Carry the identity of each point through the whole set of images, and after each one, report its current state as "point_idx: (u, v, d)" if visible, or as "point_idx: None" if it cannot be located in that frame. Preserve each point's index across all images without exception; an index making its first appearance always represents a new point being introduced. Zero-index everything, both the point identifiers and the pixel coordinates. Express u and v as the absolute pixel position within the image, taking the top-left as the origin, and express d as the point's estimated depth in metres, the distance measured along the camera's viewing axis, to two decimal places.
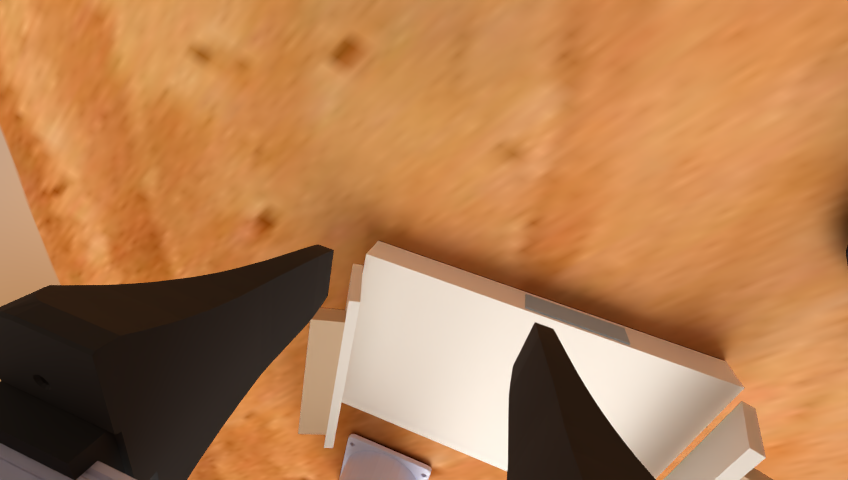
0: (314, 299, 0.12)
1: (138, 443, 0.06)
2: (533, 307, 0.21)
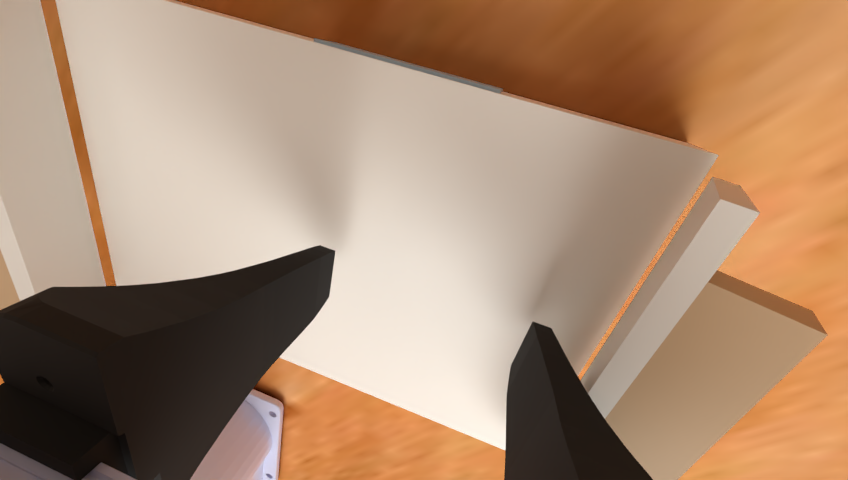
0: (316, 300, 0.12)
1: (141, 444, 0.06)
2: (330, 42, 0.11)
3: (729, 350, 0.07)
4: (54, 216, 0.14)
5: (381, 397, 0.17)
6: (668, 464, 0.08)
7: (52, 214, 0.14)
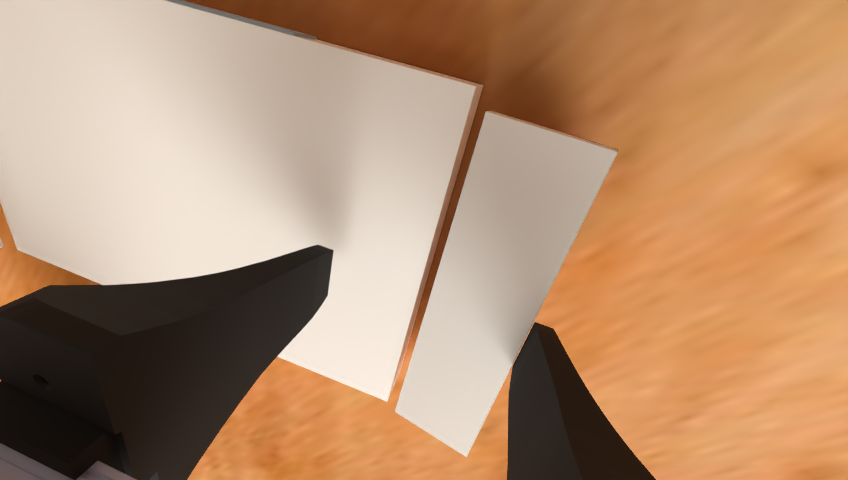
0: (314, 299, 0.12)
1: (138, 443, 0.06)
2: None
3: None
4: None
5: None
6: None
7: None
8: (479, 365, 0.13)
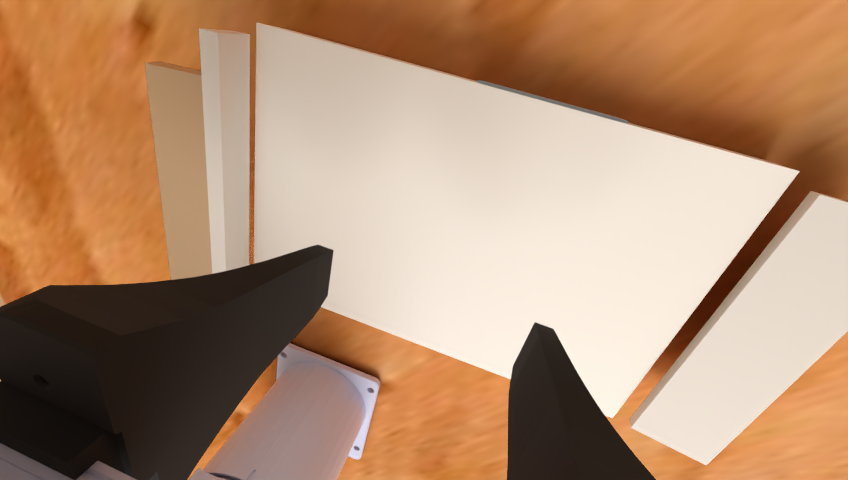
0: (314, 299, 0.12)
1: (138, 443, 0.06)
2: (489, 82, 0.14)
3: None
4: (238, 218, 0.17)
5: (488, 368, 0.20)
6: None
7: (237, 216, 0.17)
8: (747, 390, 0.15)
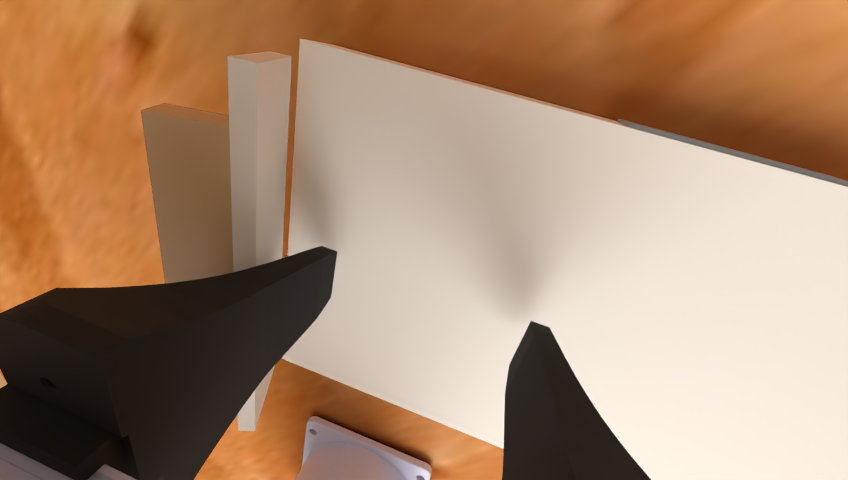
0: (318, 300, 0.12)
1: (145, 446, 0.06)
2: (645, 127, 0.10)
3: None
4: None
5: None
6: None
7: None
8: None
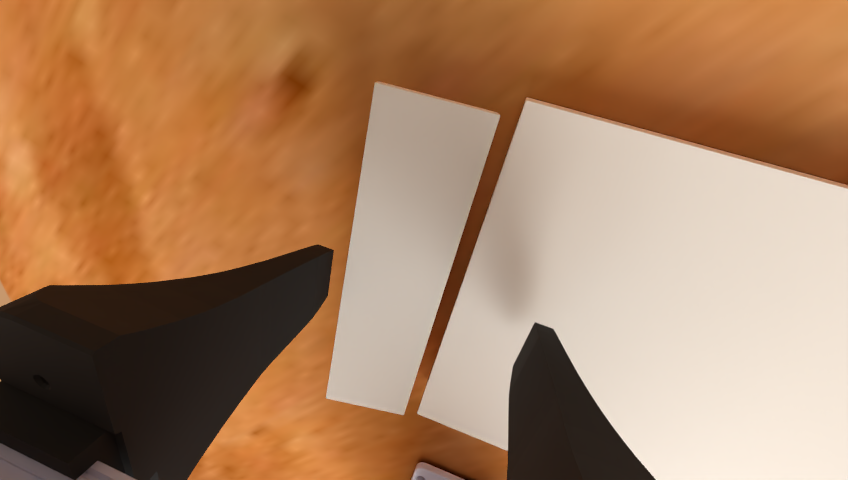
0: (314, 299, 0.12)
1: (138, 443, 0.06)
2: None
3: None
4: (385, 321, 0.13)
5: None
6: None
7: (383, 318, 0.13)
8: None
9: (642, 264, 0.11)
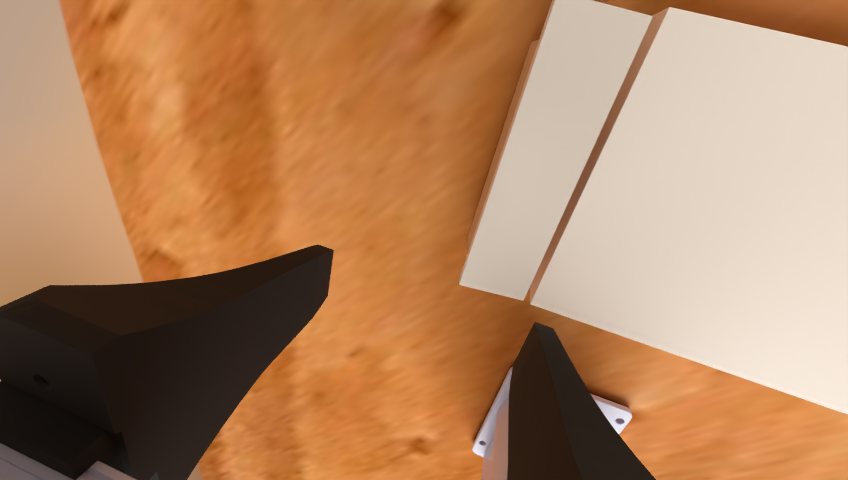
0: (314, 299, 0.12)
1: (138, 443, 0.06)
2: None
3: None
4: (525, 206, 0.16)
5: (831, 405, 0.17)
6: None
7: (524, 204, 0.16)
8: None
9: (751, 142, 0.14)
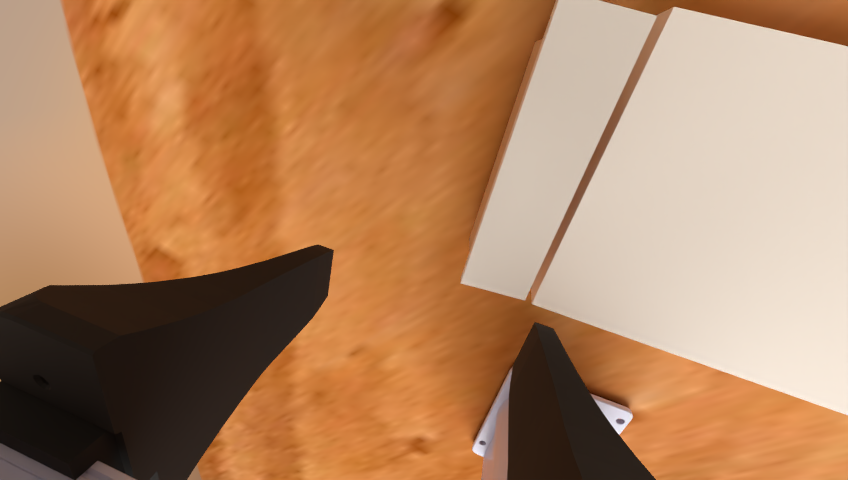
0: (314, 299, 0.12)
1: (138, 443, 0.06)
2: None
3: None
4: (527, 206, 0.16)
5: (832, 406, 0.17)
6: None
7: (526, 203, 0.16)
8: None
9: (754, 143, 0.14)
